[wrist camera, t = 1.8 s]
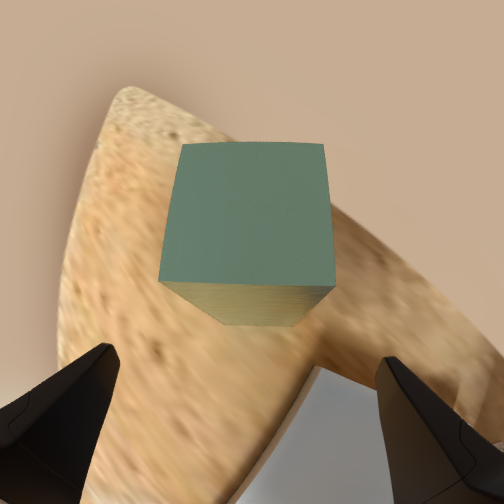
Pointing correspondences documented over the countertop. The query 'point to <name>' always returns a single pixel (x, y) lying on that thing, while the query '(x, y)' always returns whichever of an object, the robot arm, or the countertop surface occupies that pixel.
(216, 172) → the tea tin
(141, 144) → the countertop surface
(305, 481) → the tray
